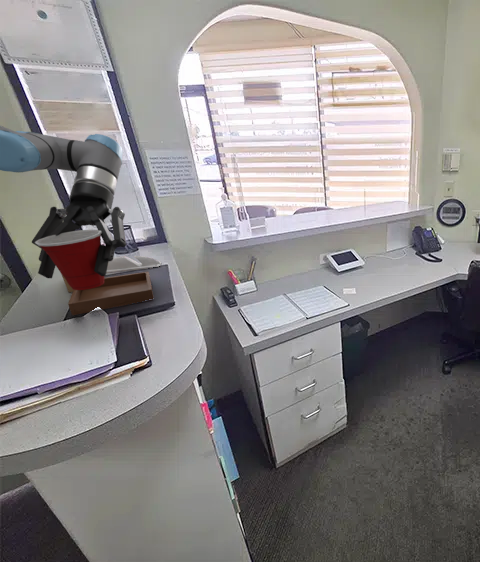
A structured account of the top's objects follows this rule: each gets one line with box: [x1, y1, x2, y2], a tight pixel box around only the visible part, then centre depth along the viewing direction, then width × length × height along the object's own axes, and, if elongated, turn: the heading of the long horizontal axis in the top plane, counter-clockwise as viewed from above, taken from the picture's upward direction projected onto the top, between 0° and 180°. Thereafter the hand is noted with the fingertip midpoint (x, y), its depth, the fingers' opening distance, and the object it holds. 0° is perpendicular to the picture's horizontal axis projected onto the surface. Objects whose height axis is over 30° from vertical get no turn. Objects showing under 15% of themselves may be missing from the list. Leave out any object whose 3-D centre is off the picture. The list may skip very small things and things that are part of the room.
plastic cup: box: [35, 229, 106, 290], centre depth 69 cm, size 11×11×12 cm
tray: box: [67, 271, 155, 316], centre depth 90 cm, size 18×18×3 cm
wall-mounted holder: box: [106, 255, 162, 274], centre depth 111 cm, size 6×5×20 cm
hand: (72, 274), depth 67 cm, fingers closed on plastic cup, 9 cm apart
